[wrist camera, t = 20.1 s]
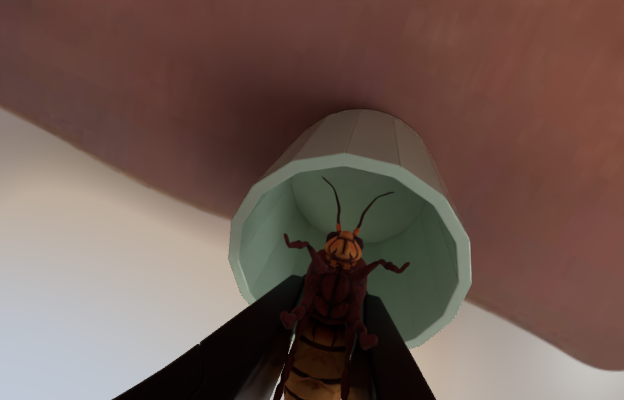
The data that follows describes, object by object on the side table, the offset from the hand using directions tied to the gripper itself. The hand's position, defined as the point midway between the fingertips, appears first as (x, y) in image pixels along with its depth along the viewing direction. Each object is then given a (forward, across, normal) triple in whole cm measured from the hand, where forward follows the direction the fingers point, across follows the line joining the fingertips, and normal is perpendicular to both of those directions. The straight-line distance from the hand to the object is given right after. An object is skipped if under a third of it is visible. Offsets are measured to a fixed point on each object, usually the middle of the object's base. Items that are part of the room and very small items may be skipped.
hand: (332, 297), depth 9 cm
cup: (+12, 0, +1) cm, 12 cm away
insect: (-4, 0, 0) cm, 4 cm away
